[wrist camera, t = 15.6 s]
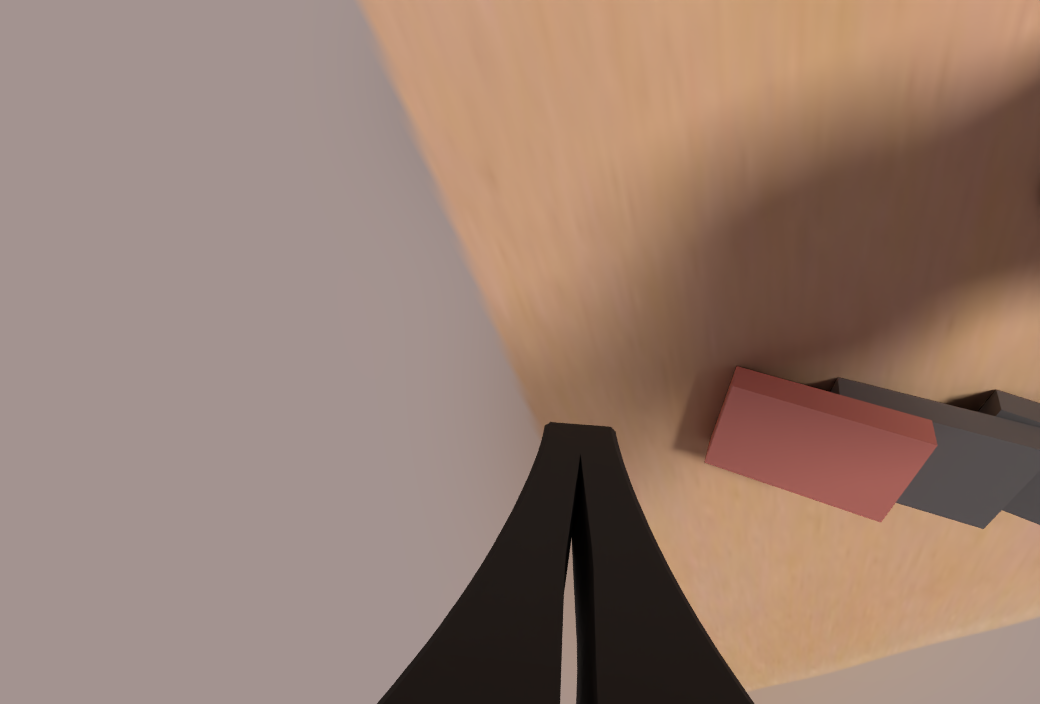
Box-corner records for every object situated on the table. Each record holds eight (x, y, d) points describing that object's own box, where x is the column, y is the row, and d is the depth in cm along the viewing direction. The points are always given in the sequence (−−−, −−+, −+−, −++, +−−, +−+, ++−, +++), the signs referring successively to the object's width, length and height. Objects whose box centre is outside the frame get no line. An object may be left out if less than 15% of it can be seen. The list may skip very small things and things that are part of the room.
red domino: (736, 366, 22) (931, 420, 20) (709, 441, 25) (878, 496, 22) (732, 385, 21) (937, 445, 19) (704, 462, 24) (880, 522, 21)
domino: (837, 376, 22) (1041, 427, 20) (798, 451, 25) (974, 502, 23) (840, 398, 21) (1055, 453, 19) (798, 473, 24) (983, 528, 22)
